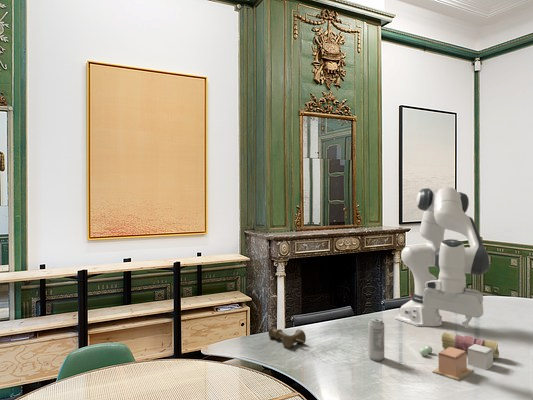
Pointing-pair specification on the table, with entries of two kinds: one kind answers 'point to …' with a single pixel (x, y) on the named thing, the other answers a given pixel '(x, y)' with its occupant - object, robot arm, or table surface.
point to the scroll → (467, 343)
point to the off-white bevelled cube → (480, 356)
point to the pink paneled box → (452, 361)
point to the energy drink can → (376, 339)
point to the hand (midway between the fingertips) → (451, 324)
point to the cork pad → (454, 376)
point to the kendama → (287, 337)
